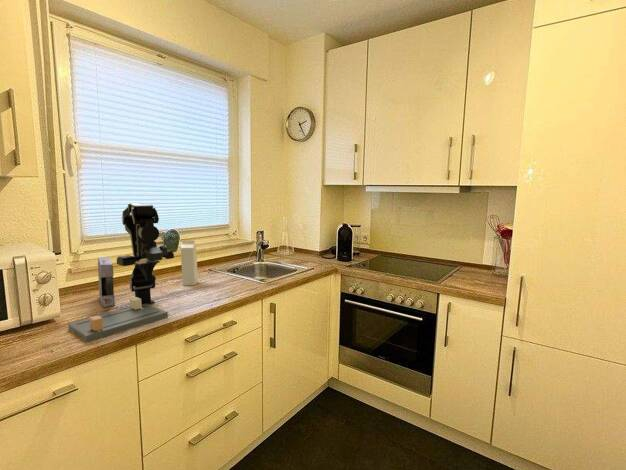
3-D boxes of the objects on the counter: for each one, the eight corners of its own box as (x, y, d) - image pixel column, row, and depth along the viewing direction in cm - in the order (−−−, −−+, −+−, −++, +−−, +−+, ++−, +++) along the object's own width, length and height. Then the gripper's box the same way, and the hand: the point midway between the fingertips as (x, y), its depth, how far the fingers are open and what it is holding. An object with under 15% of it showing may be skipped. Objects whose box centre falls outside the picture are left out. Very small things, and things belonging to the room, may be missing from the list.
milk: (194, 285, 165) (192, 241, 162) (182, 285, 164) (180, 241, 161) (197, 281, 171) (196, 239, 168) (185, 282, 170) (183, 239, 167)
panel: (68, 329, 111) (68, 323, 111) (146, 308, 131) (146, 303, 131) (86, 342, 101) (85, 335, 101) (167, 317, 122) (167, 311, 121)
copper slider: (89, 327, 106) (89, 317, 106) (98, 325, 108) (97, 315, 108) (94, 331, 104) (93, 320, 103) (103, 328, 106) (102, 318, 105)
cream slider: (130, 307, 125) (129, 298, 125) (136, 305, 127) (136, 296, 127) (135, 309, 123) (134, 300, 123) (141, 307, 125) (141, 298, 124)
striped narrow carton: (116, 306, 134) (113, 263, 132) (101, 309, 131) (98, 265, 129) (112, 294, 149) (109, 256, 147) (99, 296, 146) (95, 257, 144)
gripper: (128, 243, 110) (132, 289, 112) (180, 237, 124) (182, 278, 126) (114, 241, 117) (117, 284, 119) (165, 235, 131) (167, 274, 133)
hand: (148, 280), depth 124 cm, fingers closed
